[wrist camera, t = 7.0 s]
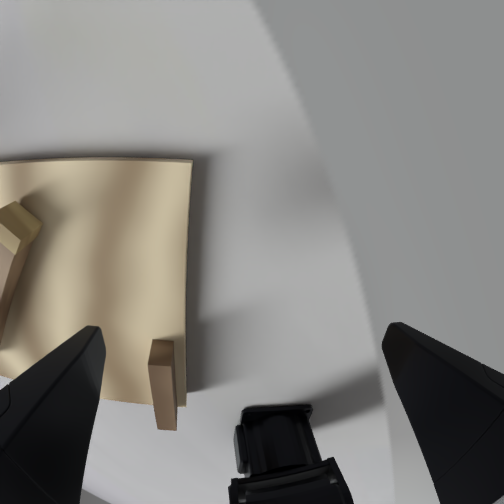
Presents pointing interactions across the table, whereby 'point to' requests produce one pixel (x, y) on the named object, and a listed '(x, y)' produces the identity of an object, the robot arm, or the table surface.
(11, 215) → the folding leg
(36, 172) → the board
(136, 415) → the table surface
